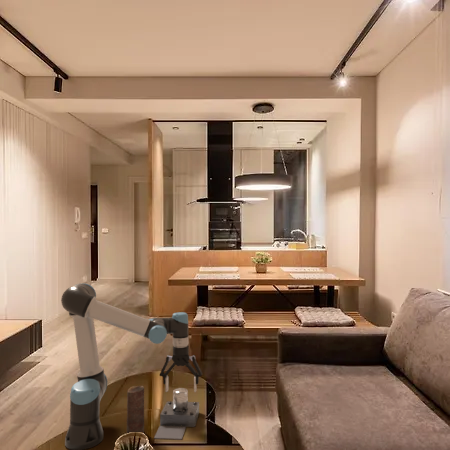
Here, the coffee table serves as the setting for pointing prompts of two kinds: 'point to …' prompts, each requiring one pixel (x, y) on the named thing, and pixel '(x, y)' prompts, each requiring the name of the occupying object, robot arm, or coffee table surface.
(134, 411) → the candle
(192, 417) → the housing
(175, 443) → the coffee table surface
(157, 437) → the mat
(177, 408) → the silver stepped plug
